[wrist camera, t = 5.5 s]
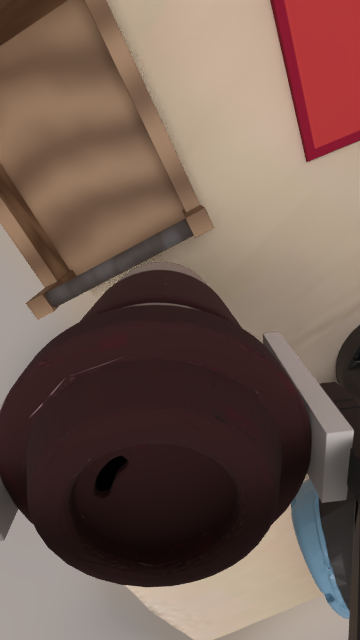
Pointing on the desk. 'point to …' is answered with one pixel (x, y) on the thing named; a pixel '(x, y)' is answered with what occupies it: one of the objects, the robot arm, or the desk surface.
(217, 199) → the desk surface
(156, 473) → the coffee cup
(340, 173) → the desk surface
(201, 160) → the desk surface
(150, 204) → the wooden crate
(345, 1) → the red board with handle
